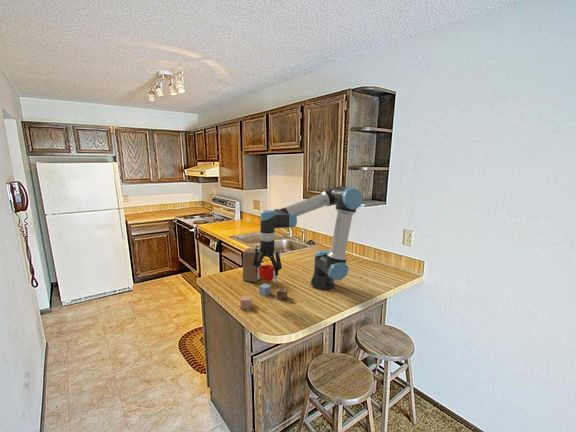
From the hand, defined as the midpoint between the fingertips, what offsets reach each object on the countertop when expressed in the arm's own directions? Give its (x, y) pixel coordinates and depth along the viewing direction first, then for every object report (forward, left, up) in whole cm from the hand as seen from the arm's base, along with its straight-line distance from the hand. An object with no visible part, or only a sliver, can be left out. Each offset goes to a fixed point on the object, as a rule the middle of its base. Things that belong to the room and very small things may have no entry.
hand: (267, 279), depth 149 cm
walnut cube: (-5, -10, -14) cm, 18 cm away
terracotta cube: (+8, +8, -14) cm, 18 cm away
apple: (0, 0, 0) cm, 0 cm away
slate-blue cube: (+6, -10, -14) cm, 18 cm away
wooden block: (+24, -25, -14) cm, 37 cm away
